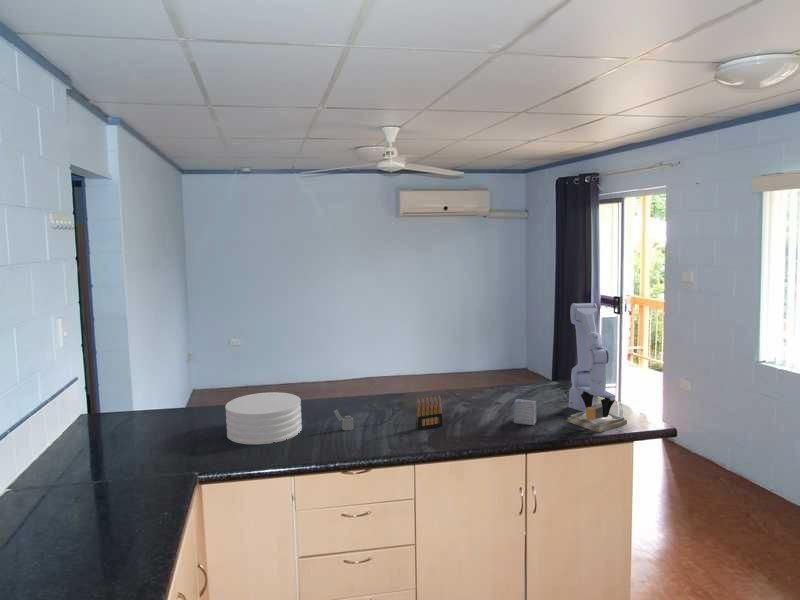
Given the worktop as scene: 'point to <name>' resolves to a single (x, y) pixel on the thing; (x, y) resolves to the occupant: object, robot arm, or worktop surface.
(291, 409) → the plate stack
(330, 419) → the worktop surface
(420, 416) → the ammunition clip
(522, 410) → the medicine box
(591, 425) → the square tray
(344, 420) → the lighter
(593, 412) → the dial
